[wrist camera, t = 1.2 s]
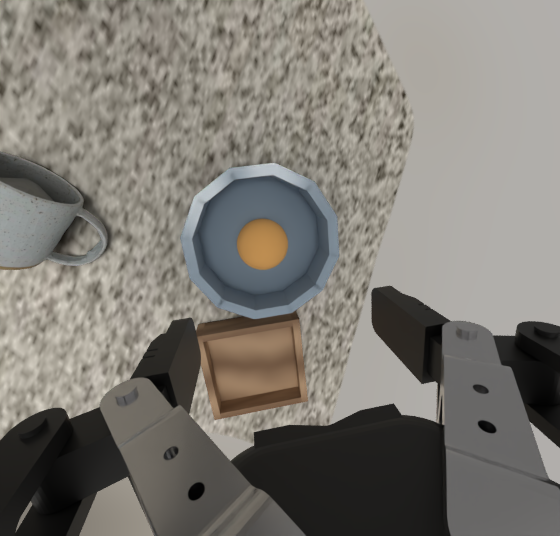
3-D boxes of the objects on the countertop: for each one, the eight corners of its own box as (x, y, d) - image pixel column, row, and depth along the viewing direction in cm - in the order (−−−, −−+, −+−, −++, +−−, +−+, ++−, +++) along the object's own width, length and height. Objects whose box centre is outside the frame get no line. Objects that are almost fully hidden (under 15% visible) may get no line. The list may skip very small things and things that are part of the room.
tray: (198, 324, 33) (194, 337, 30) (294, 308, 34) (299, 319, 31) (216, 401, 37) (214, 419, 34) (302, 384, 38) (307, 401, 35)
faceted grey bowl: (178, 177, 28) (165, 175, 23) (319, 160, 29) (334, 155, 24) (207, 307, 32) (201, 328, 28) (327, 287, 34) (341, 304, 29)
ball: (233, 219, 29) (231, 226, 24) (281, 212, 29) (289, 218, 24) (241, 265, 30) (241, 280, 25) (286, 258, 31) (294, 272, 26)
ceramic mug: (-16, 221, 27) (-110, 236, 19) (20, 151, 25) (-67, 138, 18) (91, 277, 30) (44, 308, 23) (128, 217, 28) (90, 229, 21)
